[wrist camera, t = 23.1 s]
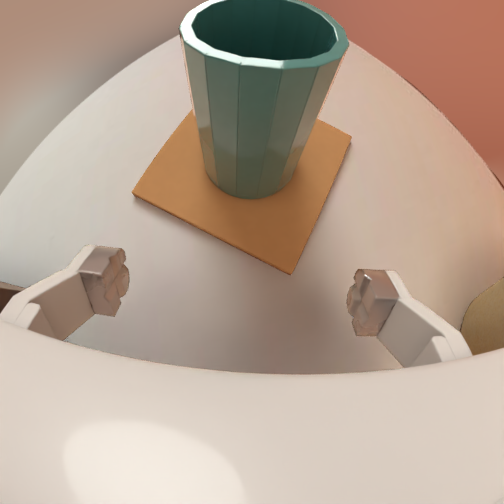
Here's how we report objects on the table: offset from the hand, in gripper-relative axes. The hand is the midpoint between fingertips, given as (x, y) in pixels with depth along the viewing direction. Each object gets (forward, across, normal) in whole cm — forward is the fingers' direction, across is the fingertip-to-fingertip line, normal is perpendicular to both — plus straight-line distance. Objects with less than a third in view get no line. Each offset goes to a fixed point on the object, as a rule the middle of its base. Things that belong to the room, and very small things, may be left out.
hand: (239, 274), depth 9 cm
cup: (+12, 0, -1) cm, 12 cm away
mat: (+12, 0, -1) cm, 12 cm away
